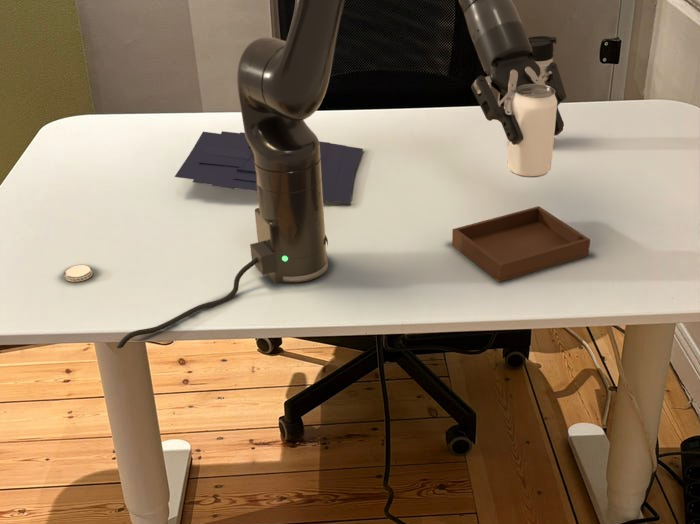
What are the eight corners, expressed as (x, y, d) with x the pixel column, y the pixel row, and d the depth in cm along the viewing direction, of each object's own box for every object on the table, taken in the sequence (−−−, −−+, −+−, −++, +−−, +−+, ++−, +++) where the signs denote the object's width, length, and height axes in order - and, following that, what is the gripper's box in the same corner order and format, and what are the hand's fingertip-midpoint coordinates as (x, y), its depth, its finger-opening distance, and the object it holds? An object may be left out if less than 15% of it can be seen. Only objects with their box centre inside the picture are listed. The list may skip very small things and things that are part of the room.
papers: (205, 141, 177) (205, 123, 175) (362, 161, 177) (363, 143, 175) (172, 196, 157) (171, 176, 155) (348, 218, 158) (350, 199, 155)
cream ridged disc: (82, 265, 140) (81, 261, 140) (98, 273, 138) (97, 269, 138) (59, 275, 138) (58, 272, 138) (75, 284, 136) (74, 280, 135)
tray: (499, 282, 135) (500, 265, 134) (452, 245, 145) (452, 229, 143) (588, 255, 141) (590, 239, 140) (537, 221, 151) (538, 205, 149)
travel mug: (546, 151, 175) (555, 43, 163) (511, 149, 176) (517, 41, 164) (548, 139, 180) (557, 33, 168) (514, 137, 181) (521, 31, 169)
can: (500, 163, 141) (505, 85, 134) (539, 158, 142) (546, 80, 135) (517, 180, 136) (523, 100, 129) (558, 175, 137) (566, 95, 130)
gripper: (466, 26, 130) (508, 135, 128) (550, 12, 136) (592, 116, 134) (445, 54, 137) (486, 158, 135) (526, 40, 142) (566, 139, 141)
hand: (538, 137), depth 135 cm, fingers closed on can, 6 cm apart
